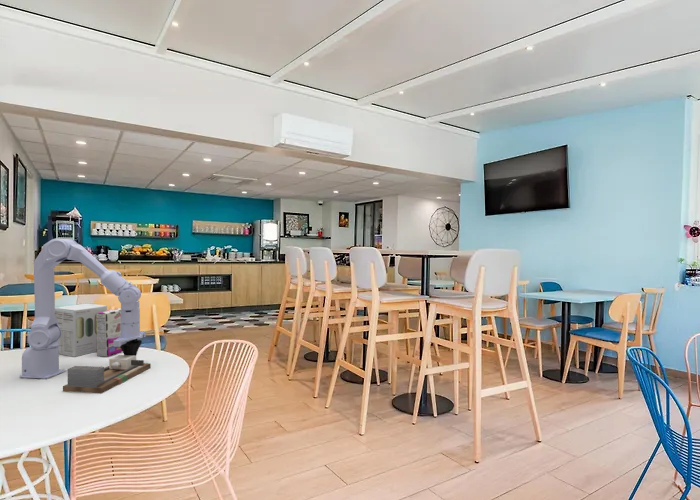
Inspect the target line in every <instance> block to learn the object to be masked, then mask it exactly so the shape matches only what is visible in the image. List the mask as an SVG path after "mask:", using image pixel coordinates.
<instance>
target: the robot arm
mask: <svg viewBox="0 0 700 500" xmlns="http://www.w3.org/2000/svg"><path fill="white" fill-rule="evenodd" d="M65 260H69V261H70V260H71V261H76V262H78V263H81V264H82V265H84V266H85V267H86V268H87V269H89V270H90V271H91V272H93V273H94V274H95V275H96V276H98V277H99V279H100V280H99V281H100V283H101V285H102V286H103V287H105V288H106V289H107V290H109V292H111V293H112V294H113V295H114V296H116V297H117V298H118V302H119V303H120V308H121V336H120V337H119V338H118V339H116V340H114V347H120V348H121V349H122V351H123V352H122V353H123V355H134V356H136V357H137V355H138V351H139V348H140V347H141V345H142V343H143V342H142V340H140V339H142V338H146V336H147V334H146V331H145V330H141V327H140V326H141V317H140V316H141V312H140V311H141V310H140V309H141V308H140V299H141V295H142V291H141V290H140V288H139V287H138V286H136V285H133V283H132V282H131V281H128V280H127V279H125V278H124V277H123V276H122V273H121V272H120V271H116V270H115V269H114V270H113V269H112V270H109V269H107V267H106V266H104V265H103V264H102V263H101V262H100V261H99V260H98V259H97V258H95V256H93V254H91V253H90V251H88V250H87V249H86V248H85V247H84V246H82V245H81V244H80V243H77V241H76V240H74V239H72V238H67V237H66V238H52V239H51V240H49V241H47V242H46V243H45V244H43V245H42V249H41V251H40V252H39V254H38V255H37V257H36V258H35V260H34V262H33V280H34V281H33V285H34V287H33V288H34V290H33V291H34V293H33V294H34V319H33V321H32V323H31V325H30V331H29V334H28V336H27V338H26V339H27V343H28V345H29V347H27V348H25V349H24V351H23V352H22V355H21V375H19V378H27V379H49V378H52V377H54V376H56V375H57V376H58V375H60V374H62V373H65V372H66V371H67V370H66V369H62V368H61V369H60V354H59V343H58V339H59V338H60V337H61V329H60V327H59V325H58V319H57V318H56V316H55V308H56V301H55V300H56V296H55V295H56V294H55V289H56V288H55V287H56V285H55V268H56V267H58V265H59V264H61V263H62V262H63V261H65Z"/></svg>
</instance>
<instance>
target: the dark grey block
mask: <svg viewBox="0 0 700 500" xmlns="http://www.w3.org/2000/svg"><path fill="white" fill-rule="evenodd" d="M104 368H105V367H104V366H88V365H87V366H86V365H85V366H84V365H74V366H72V367H69V368H67V370H66V371H67V375H66V376H67V384H68V386H71V387H92V388H97V387H99V386H101V385H103V384H104Z"/></svg>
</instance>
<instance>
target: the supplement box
mask: <svg viewBox="0 0 700 500" xmlns="http://www.w3.org/2000/svg"><path fill="white" fill-rule="evenodd" d="M103 311H108V305H105V304H98V303H97V304H95V303H88V302H87V303H86V302H85V303H80V304H71V305H65V306H59V307H58V306H57V307H56V306H55V316H56V318H57V319H58V325H59V327H60V329H61V337H60V338H59V339H58V343H59V355H62V356H63V355H64V356H68V357H73V358H77V357H80V356H84V355H85V356H86V355H88V354H92V353H96V352H97V326H96V313H99V312H103Z"/></svg>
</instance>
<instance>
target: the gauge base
mask: <svg viewBox="0 0 700 500" xmlns="http://www.w3.org/2000/svg"><path fill="white" fill-rule="evenodd" d="M151 366H152V365H151V362H150V363H146V362H144V365H143V366H139V365H134V366H132V367H130V368H128V369H126V370H122V369H109V365H107V366H105V367H104V384H103V385H101V386H99V387H97V388H92V387H71V386H68V383H67V384H64V385H63V386H62V392H68V393H69V392H70V393H89V394H90V393H91V394H92V393H94V394H103V393H105V392H107V391H109V390H111V389H113V388H115V387H117V386H119V385H121V384H123V383H125V382H127V381H128V380H130V379H133V378H134V377H136V376H137V375H140V374H142V373H144V372H145V371H147V370H149V369H151Z"/></svg>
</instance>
